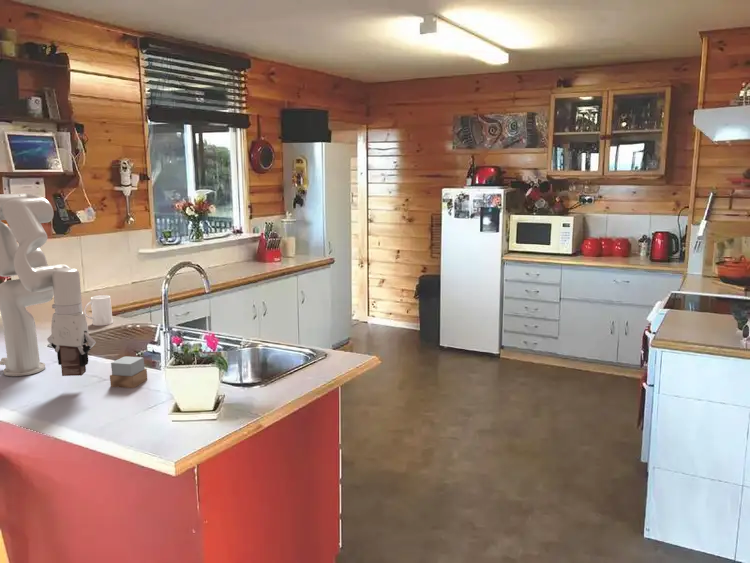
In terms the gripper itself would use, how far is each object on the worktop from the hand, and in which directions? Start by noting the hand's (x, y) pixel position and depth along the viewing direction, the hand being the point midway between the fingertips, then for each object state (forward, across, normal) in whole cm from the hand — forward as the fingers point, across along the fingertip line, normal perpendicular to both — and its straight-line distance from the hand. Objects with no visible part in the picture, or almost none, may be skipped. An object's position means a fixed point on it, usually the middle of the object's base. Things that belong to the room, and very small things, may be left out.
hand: (73, 363), depth 197 cm
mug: (+11, -42, +75) cm, 87 cm away
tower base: (+8, +14, +7) cm, 18 cm away
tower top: (+4, +14, +7) cm, 16 cm away
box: (+3, 0, 0) cm, 3 cm away
